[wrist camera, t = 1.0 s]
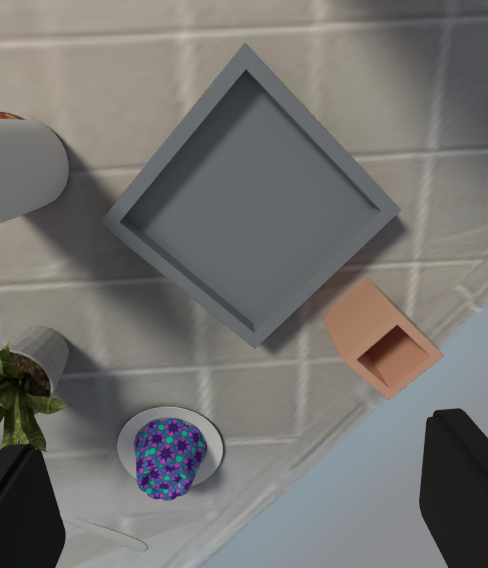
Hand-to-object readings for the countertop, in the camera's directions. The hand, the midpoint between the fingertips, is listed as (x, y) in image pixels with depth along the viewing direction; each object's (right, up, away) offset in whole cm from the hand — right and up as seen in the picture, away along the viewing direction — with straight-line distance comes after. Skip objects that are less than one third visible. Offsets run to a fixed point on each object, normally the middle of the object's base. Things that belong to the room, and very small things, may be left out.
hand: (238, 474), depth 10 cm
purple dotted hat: (-8, -14, +37) cm, 40 cm away
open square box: (+12, +1, +31) cm, 33 cm away
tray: (+1, +11, +27) cm, 29 cm away
